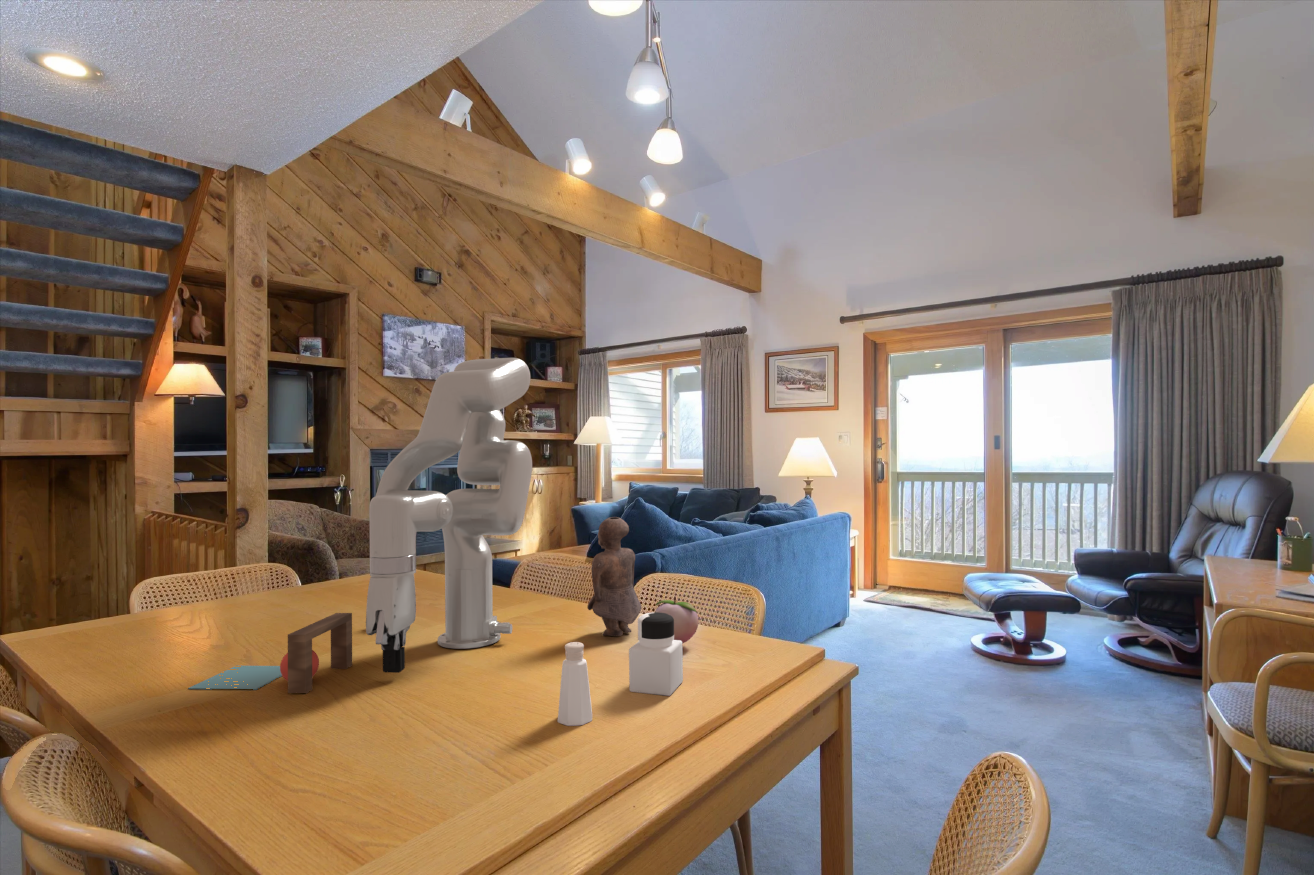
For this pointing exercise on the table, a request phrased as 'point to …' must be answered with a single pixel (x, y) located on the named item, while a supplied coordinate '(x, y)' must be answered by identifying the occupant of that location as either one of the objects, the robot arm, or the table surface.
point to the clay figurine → (614, 580)
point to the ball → (285, 665)
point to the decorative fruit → (680, 618)
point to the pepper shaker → (574, 688)
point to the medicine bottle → (655, 656)
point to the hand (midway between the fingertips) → (393, 670)
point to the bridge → (303, 649)
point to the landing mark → (242, 678)
